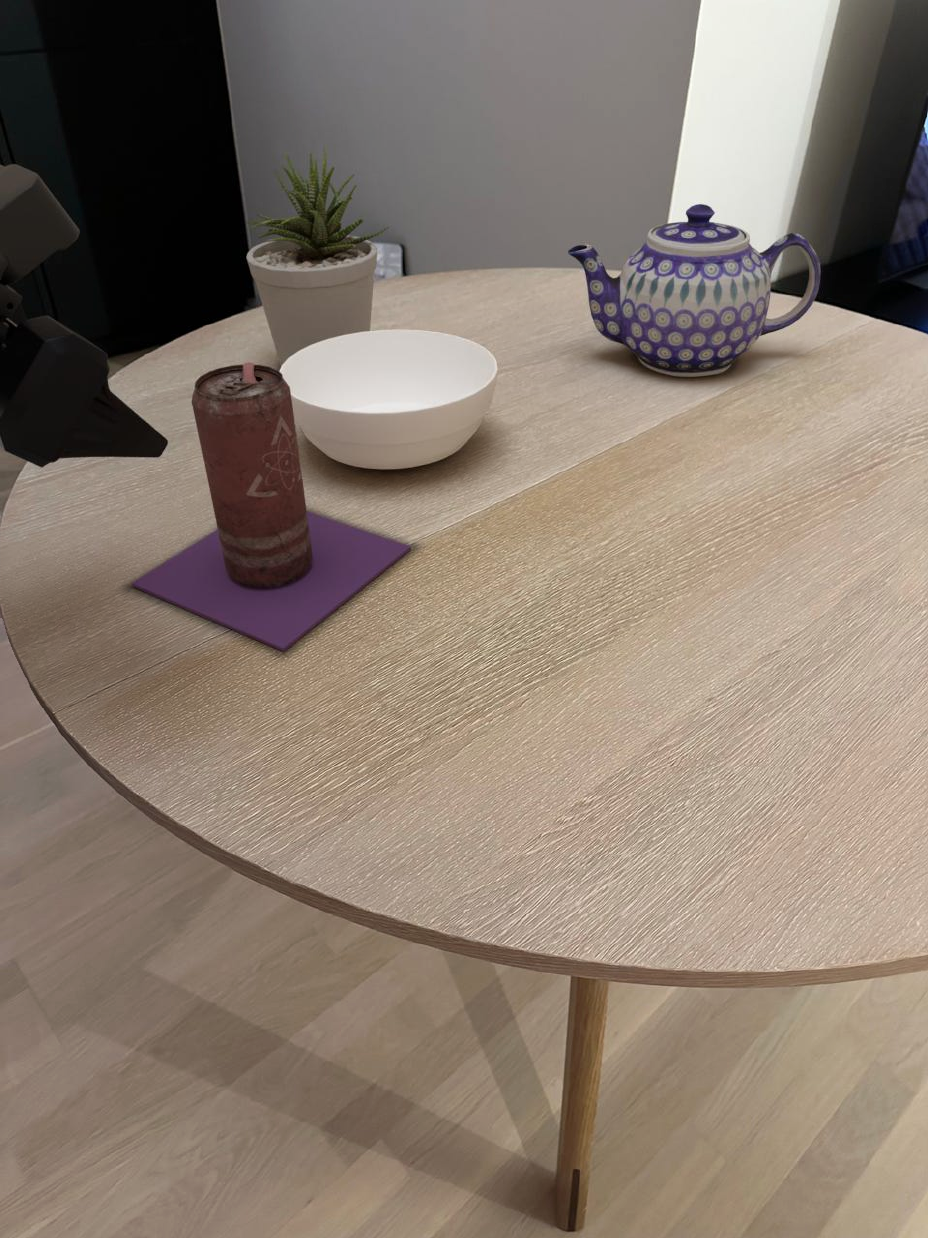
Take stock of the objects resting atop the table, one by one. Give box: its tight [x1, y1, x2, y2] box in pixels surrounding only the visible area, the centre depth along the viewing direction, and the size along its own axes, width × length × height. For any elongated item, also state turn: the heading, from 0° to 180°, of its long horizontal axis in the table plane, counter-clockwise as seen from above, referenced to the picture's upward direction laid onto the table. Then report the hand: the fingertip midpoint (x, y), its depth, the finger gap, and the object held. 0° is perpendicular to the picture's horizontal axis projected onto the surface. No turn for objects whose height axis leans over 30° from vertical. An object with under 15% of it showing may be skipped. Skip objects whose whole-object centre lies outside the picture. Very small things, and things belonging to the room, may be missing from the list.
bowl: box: [278, 328, 499, 470], centre depth 79 cm, size 18×18×7 cm
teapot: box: [567, 203, 821, 378], centre depth 92 cm, size 25×15×15 cm, turn 87°
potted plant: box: [245, 147, 389, 366], centre depth 91 cm, size 13×14×20 cm
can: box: [191, 362, 313, 589], centre depth 62 cm, size 6×6×14 cm
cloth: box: [131, 510, 412, 653], centre depth 66 cm, size 14×14×1 cm
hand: (129, 422), depth 55 cm, fingers open, 9 cm apart
